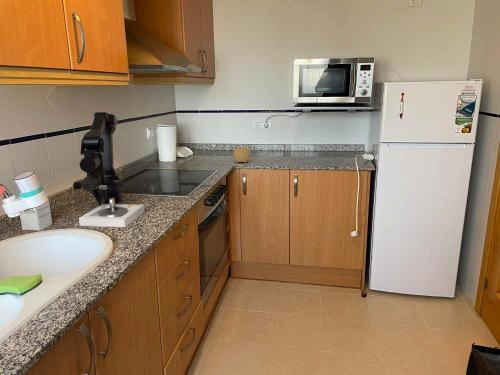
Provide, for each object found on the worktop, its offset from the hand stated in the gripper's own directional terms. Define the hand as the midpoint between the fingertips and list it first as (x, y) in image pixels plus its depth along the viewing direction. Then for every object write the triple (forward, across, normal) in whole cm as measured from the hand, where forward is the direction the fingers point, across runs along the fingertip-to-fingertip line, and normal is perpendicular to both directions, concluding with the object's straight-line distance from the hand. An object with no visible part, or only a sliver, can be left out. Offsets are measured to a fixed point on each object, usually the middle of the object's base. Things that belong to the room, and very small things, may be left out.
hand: (100, 205), depth 153 cm
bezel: (+4, +7, -4) cm, 9 cm away
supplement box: (+4, -17, -16) cm, 24 cm away
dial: (+3, +7, -4) cm, 9 cm away
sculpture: (+4, +39, +115) cm, 122 cm away
